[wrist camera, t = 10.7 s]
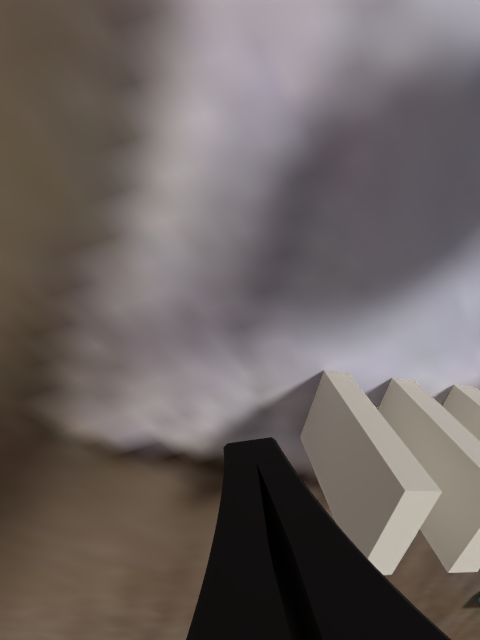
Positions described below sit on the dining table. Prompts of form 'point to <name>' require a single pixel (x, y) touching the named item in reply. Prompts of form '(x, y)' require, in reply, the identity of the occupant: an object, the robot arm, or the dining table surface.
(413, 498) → the ivory domino
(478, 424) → the ivory domino
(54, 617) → the dining table surface
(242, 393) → the dining table surface
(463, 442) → the ivory domino
